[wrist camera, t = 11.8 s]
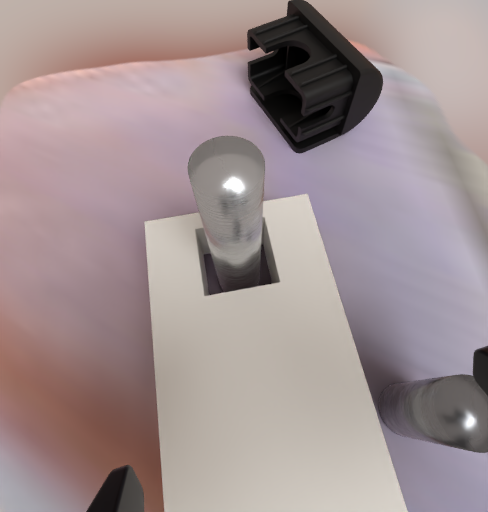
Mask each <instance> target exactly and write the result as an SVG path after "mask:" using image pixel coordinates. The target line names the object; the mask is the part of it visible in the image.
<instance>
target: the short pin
mask: <svg viewBox="0 0 488 512" xmlns="http://www.w3.org/2000/svg"><path fill="white" fill-rule="evenodd" d="M379 411H380V415H381V417H382V419H383V421H384V423H385V424H386V426H387V427H388V428H389V429H390V430H392V431H393V432H394V433H396V434H398V435H401V436H404V437H409V438H413V439H418V440H422V441H427V442H432V443H436V444H441V445H445V446H450V447H455V448H459V449H464V450H468V451H473V452H479V453H485V452H488V396H487V395H486V394H485V392H484V391H483V390H482V389H481V388H480V387H479V385H478V384H477V383H476V381H475V379H474V377H473V376H471V375H453V376H446V377H439V378H432V379H425V380H418V381H411V382H404V383H397V384H392V385H390V386H388V387H387V388H386V389H384V391H383V392H382V394H381V396H380V399H379Z"/></svg>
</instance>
